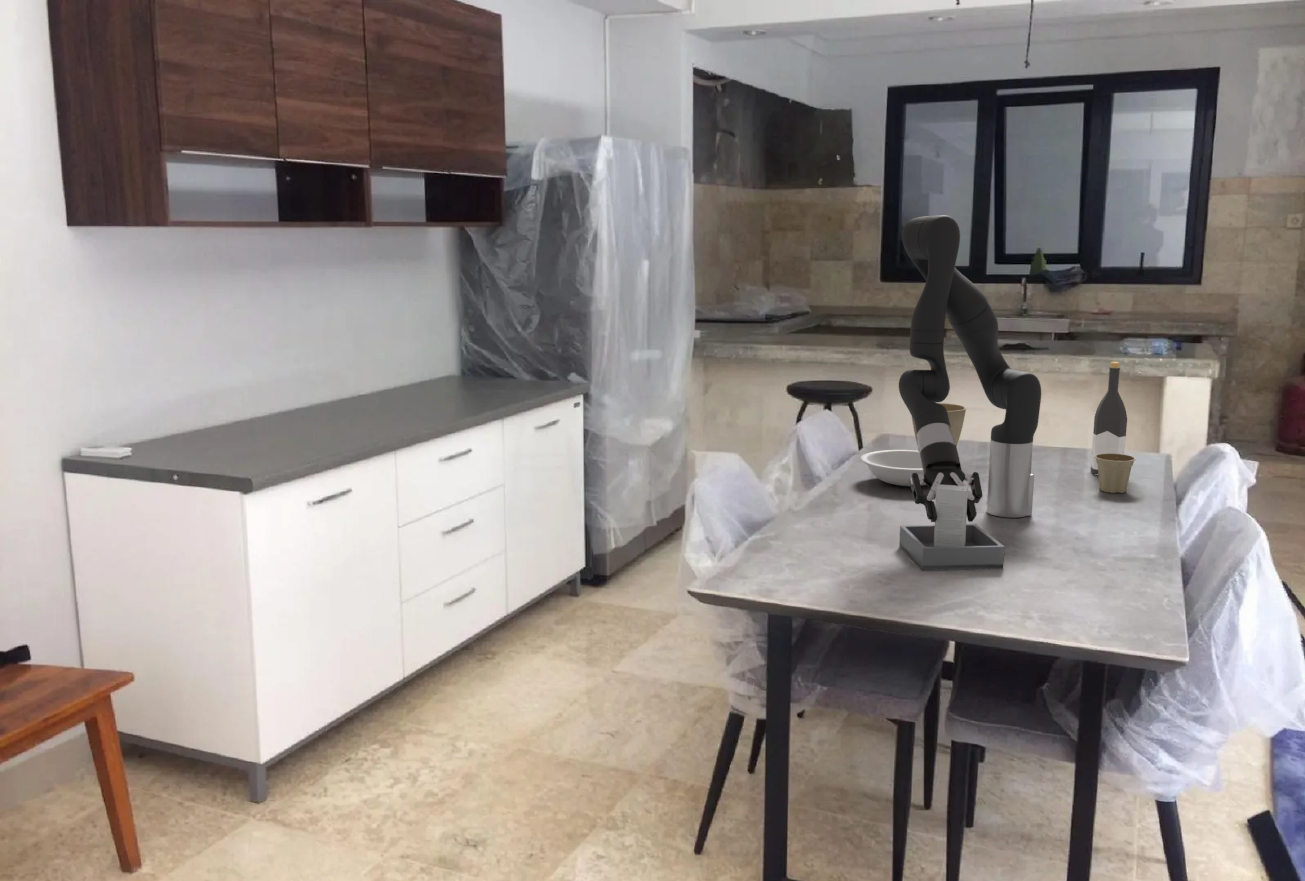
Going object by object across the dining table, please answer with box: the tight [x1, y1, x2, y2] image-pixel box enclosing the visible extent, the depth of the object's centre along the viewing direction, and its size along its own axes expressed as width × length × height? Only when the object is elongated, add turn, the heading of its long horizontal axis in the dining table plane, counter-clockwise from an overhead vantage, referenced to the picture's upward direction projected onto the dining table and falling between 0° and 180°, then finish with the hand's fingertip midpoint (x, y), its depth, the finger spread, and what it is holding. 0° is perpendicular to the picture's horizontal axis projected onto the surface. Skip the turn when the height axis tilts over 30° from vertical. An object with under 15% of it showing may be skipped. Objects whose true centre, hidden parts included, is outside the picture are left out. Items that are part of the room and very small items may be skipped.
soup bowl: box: [860, 449, 928, 487], centre depth 275 cm, size 24×24×7 cm
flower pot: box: [1095, 453, 1137, 494], centre depth 266 cm, size 9×9×9 cm
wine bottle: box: [1090, 361, 1128, 475], centre depth 282 cm, size 8×8×30 cm
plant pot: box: [911, 402, 967, 447], centre depth 298 cm, size 15×15×16 cm
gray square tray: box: [898, 523, 1005, 572], centre depth 214 cm, size 16×16×4 cm
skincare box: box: [934, 485, 969, 547], centre depth 213 cm, size 6×4×12 cm
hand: (953, 519), depth 212 cm, fingers closed on skincare box, 7 cm apart
